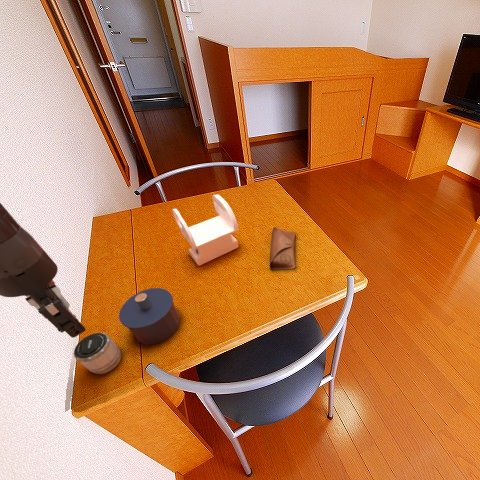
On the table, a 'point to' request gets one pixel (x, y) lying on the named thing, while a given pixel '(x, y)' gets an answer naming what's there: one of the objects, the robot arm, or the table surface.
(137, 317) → the pot lid
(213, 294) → the table surface
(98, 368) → the camera lens
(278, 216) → the table surface
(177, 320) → the pot
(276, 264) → the sunglasses case
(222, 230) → the tape dispenser
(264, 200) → the table surface
